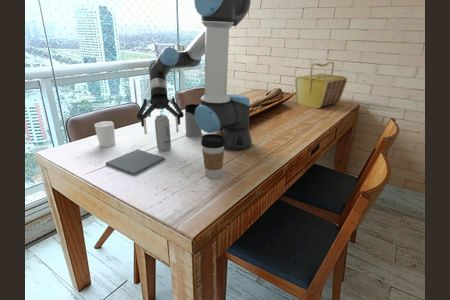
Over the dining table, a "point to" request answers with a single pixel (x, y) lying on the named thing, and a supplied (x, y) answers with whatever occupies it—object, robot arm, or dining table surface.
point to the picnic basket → (319, 88)
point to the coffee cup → (213, 154)
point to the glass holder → (191, 122)
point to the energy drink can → (162, 133)
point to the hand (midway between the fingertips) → (161, 132)
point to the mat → (135, 161)
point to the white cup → (105, 133)
